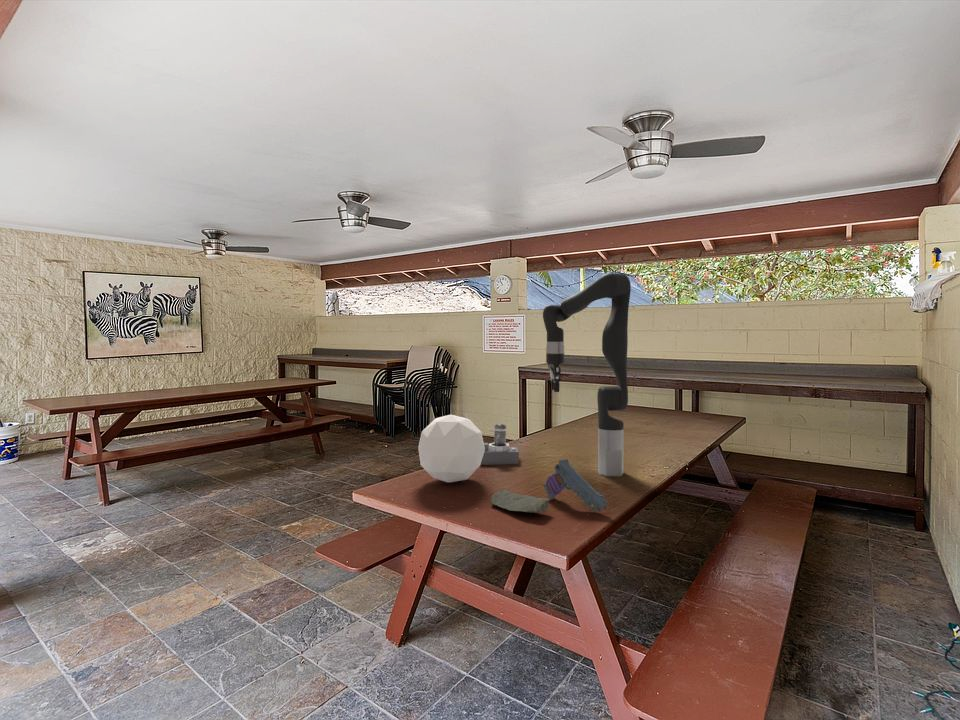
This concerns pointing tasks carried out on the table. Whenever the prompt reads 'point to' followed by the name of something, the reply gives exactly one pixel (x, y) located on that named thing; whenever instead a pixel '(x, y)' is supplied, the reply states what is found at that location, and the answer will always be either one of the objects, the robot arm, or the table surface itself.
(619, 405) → the robot arm
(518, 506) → the stone
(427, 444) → the geometric sphere
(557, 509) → the table surface
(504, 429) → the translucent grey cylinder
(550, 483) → the toy gun
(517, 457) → the camera body
